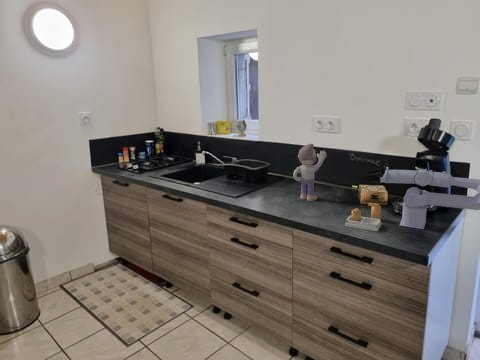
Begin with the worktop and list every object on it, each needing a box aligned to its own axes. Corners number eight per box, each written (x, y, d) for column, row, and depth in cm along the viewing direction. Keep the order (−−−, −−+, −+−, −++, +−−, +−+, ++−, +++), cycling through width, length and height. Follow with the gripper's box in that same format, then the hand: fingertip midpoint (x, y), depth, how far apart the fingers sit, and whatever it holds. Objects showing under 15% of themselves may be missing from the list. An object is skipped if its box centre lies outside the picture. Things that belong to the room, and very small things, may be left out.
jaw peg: (380, 218, 166) (381, 203, 164) (379, 221, 162) (380, 206, 161) (368, 217, 168) (369, 202, 167) (366, 220, 165) (367, 204, 163)
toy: (330, 200, 194) (331, 144, 186) (321, 204, 188) (322, 147, 180) (301, 194, 206) (301, 141, 198) (292, 198, 200) (291, 144, 192)
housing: (381, 224, 160) (382, 209, 158) (377, 231, 153) (378, 215, 151) (349, 219, 166) (350, 204, 164) (344, 226, 159) (345, 210, 157)
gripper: (401, 163, 161) (369, 163, 168) (396, 171, 149) (362, 170, 156) (401, 179, 163) (369, 178, 169) (396, 187, 151) (362, 186, 157)
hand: (366, 175), depth 163 cm, fingers open, 7 cm apart
